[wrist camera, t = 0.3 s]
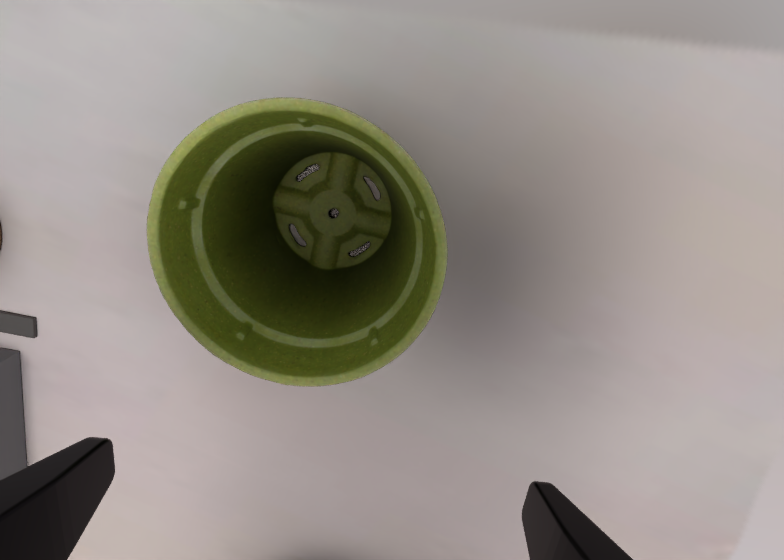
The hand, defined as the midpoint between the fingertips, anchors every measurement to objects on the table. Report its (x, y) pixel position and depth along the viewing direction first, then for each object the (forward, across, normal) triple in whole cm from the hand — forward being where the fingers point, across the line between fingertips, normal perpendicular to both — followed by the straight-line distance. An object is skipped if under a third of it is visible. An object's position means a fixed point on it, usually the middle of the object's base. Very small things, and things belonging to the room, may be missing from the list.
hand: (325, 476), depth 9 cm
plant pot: (+14, +2, -3) cm, 15 cm away
